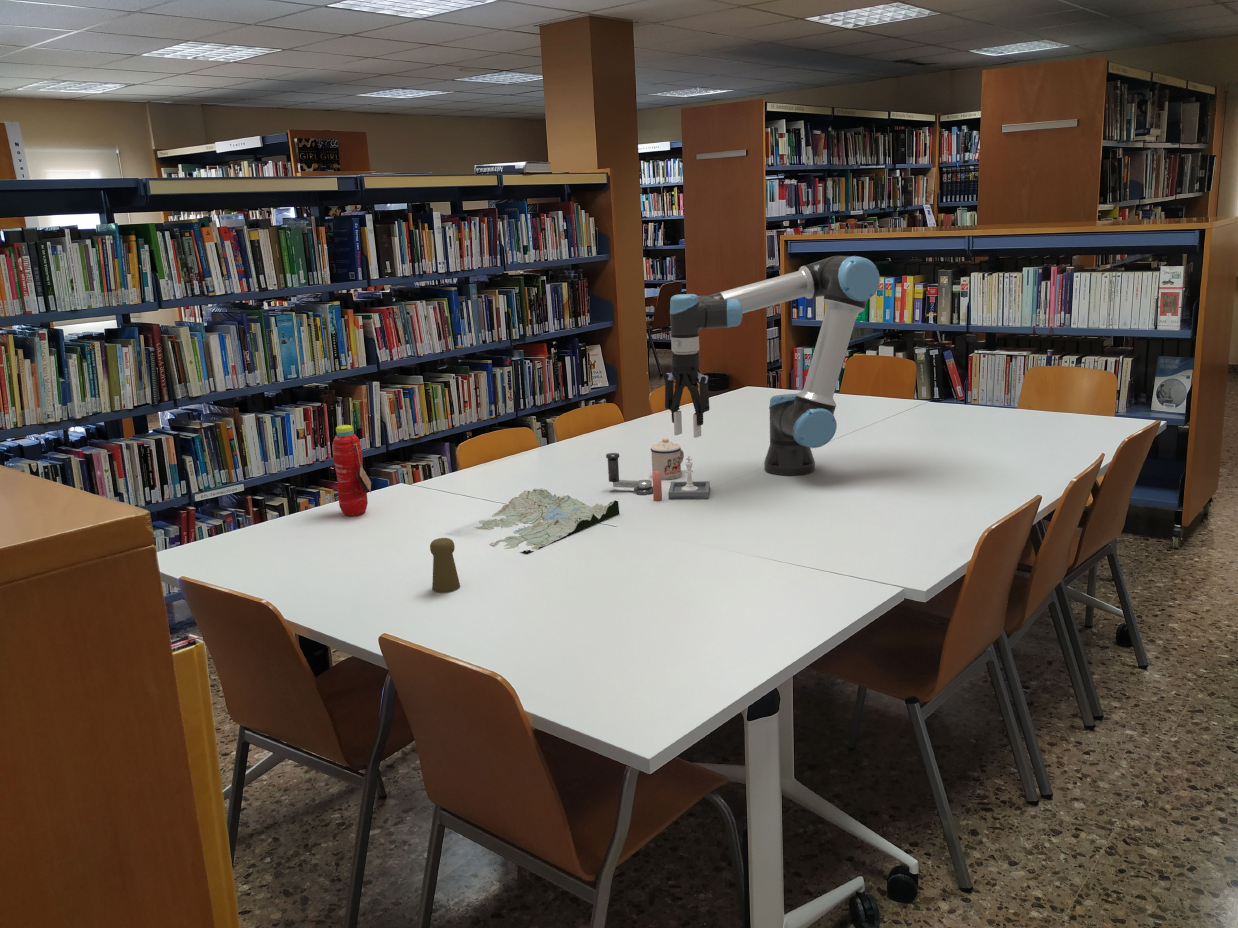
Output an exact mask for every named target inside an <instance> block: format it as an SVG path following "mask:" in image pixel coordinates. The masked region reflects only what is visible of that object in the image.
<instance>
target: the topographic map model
mask: <svg viewBox="0 0 1238 928" xmlns="http://www.w3.org/2000/svg"><path fill="white" fill-rule="evenodd" d="M619 515H620V505H619V501H618V500H613V501H610V502H609V503H608V504H607V505H606V504H604V505H603V504H599V503H596V504H594V505H593V506H590V505H588V504H585V503H584V502H583V501H580V500H579V499H577V498H572V496H570V495H568V494H567V495H562V496H560V495H559V496H557V494H556V493H555V494H554V495H552V493H551V492H550V491H548V489H545V488H533V489H532V490H524V491H523V492H521V493H520V494H519V495H518V496H515V497H513V498H511V499H510V500H509V501H508V503H507V504H504V505H503V506H502V507H501V509H500V510H498V511H497V512H495V513H493V514H492V515H491V517H493V518H494V517H495V518H494V519H488V520H484V519H483V520H482V519H481V520H479V521H478V523H479V524H481V526H474V527H473V528H474V529H477V530H482V531H484V530H487V531H492V530H494V529H495V528H499V527H500V528H501V529H503V528H504V529H507V528H508V529H510V528H512V527H513V526H518V525H519V523H520V524H524V526H523V527H521V528H520V527H519V528H517V529H515V530H513V532H512V533H513V534H514V535H509V536H506V537H504V538H503V539H498V540H496V541H495V542H494V541H492V542H490V543H489V546H491V547H492V546H493V547H496V546H497V547H498V545H499V544H500V543H505V545H503V546H504V549H505V550H510V549H515V548H518V547H519V546H520V544H522V543H524V542H526V543H525V546H527V547H528V546H531V547H530V548H531V549H532V550H530V549H526V550H523V551H519V553H520V554H524V555H530V554H531V553H533V552H535V551H538V550H540V549H543V548H545V547H548V546H550V545H553V544H554V543H557V542H559V541H561V540H564V539H566V538H569V537H571V536H573V535H576V534H577V533H580V532H583V531H584V530H586V529H589V528H592V527H594V526H596V525H598V524H601V523H602V522H605V521H607V520H610V519H612V518H614V517H617V516H619ZM501 516H503V517H501ZM496 517H501V518H499V519H497V518H496ZM525 524H529V525H527V526H526V525H525Z"/></svg>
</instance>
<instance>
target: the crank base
mask: <svg viewBox="0 0 1238 928" xmlns="http://www.w3.org/2000/svg"><path fill="white" fill-rule="evenodd" d="M633 493H634V494H635V495H639V496H647V495H648V496H649V495H652V494H653V486H652V488H650V489H637V488H633Z"/></svg>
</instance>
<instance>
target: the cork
mask: <svg viewBox="0 0 1238 928" xmlns="http://www.w3.org/2000/svg"><path fill="white" fill-rule="evenodd" d="M455 546H456V545H455V543H454V540H452V538H449V537H438V538H436V539H434V540H432V541H431V542H430V544H429V550H430V551H429V552H430V553H431V555H432V556H433V557H432V558H433V559H432V583H431V585H432V587H431V588H432V592H434V593H438V594H439V593H440V594H442V593H443V594H445V593H446V594H448V593H452V592H455V591H457V590H459V589H460V588H461V583H460V579H459V576H458V570H457V567H456V562H455V559H454V555H453V553H454V552H455Z"/></svg>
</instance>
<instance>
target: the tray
mask: <svg viewBox="0 0 1238 928" xmlns="http://www.w3.org/2000/svg"><path fill="white" fill-rule="evenodd" d="M710 482H711V481H710V480H704V481H703V480H702V481H701V480H699V481H697V480H696V481H695V480H694V481H693V480H692V483H693V485H694V486H696V487H698V490H699V491H681V488H682V487H684V486H686V484H687V480H686V481H685V480H684V481H671V482H670V485H669V488H668V493H667V495H668V500H709V498H710V491H711V490H710V489H711V486H710V485H711V483H710Z"/></svg>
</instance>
